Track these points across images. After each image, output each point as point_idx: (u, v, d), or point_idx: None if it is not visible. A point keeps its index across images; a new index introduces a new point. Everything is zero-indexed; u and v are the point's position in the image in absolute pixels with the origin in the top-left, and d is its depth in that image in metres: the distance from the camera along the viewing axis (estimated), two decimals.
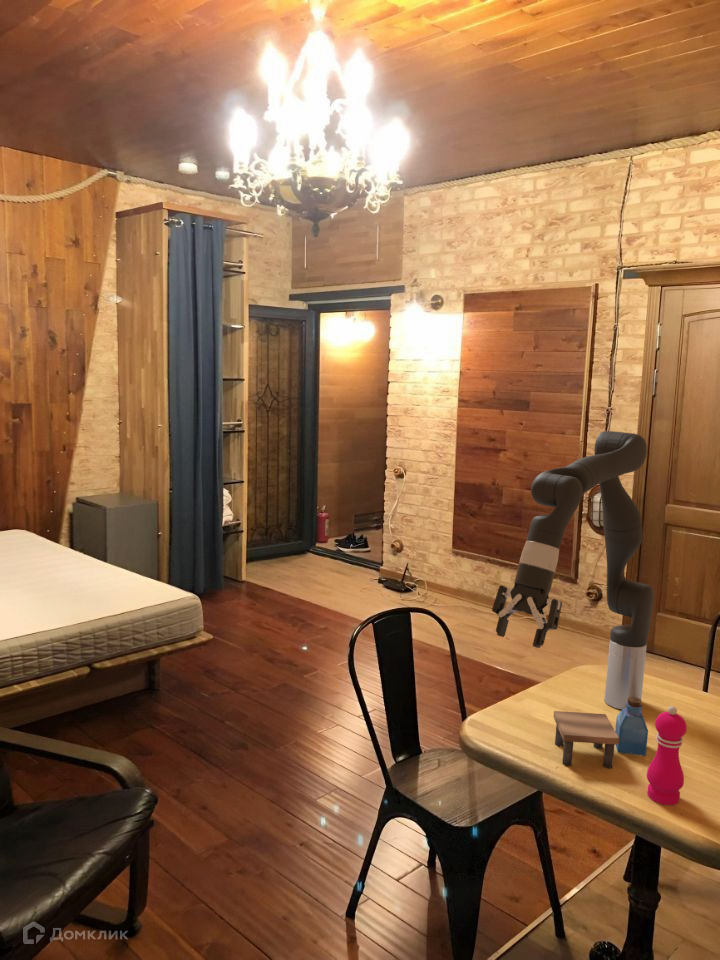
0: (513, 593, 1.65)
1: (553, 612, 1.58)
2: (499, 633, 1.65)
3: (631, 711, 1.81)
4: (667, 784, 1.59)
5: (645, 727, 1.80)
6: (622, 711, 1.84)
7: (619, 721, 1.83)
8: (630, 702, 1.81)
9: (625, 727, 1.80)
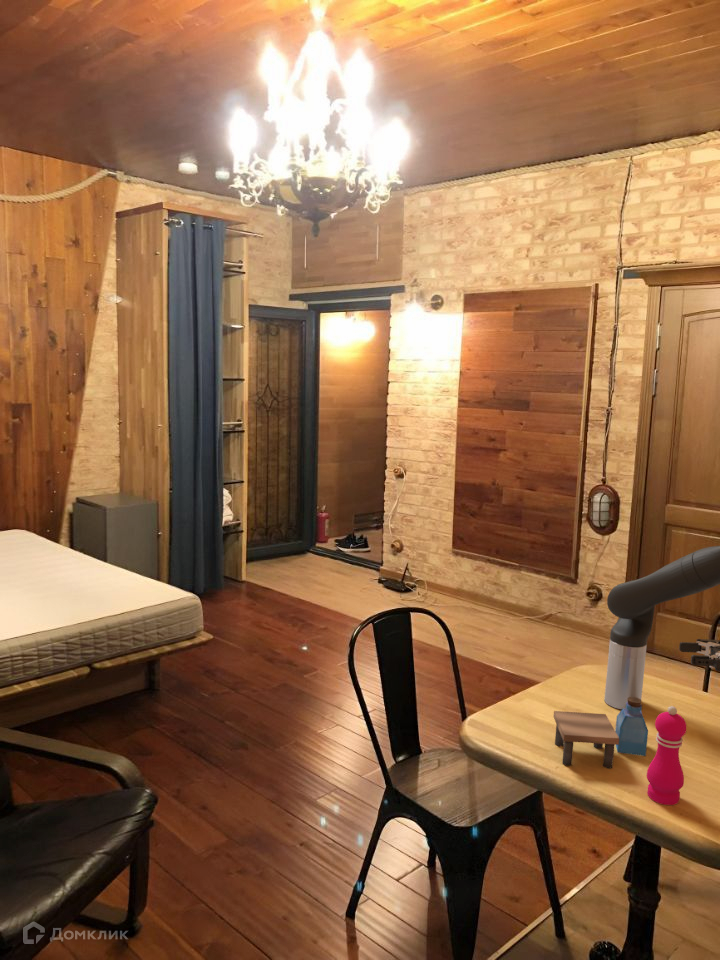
0: None
1: None
2: None
3: (631, 711, 1.81)
4: (667, 784, 1.59)
5: (645, 727, 1.80)
6: (622, 711, 1.84)
7: (619, 721, 1.83)
8: (630, 702, 1.81)
9: (625, 727, 1.80)
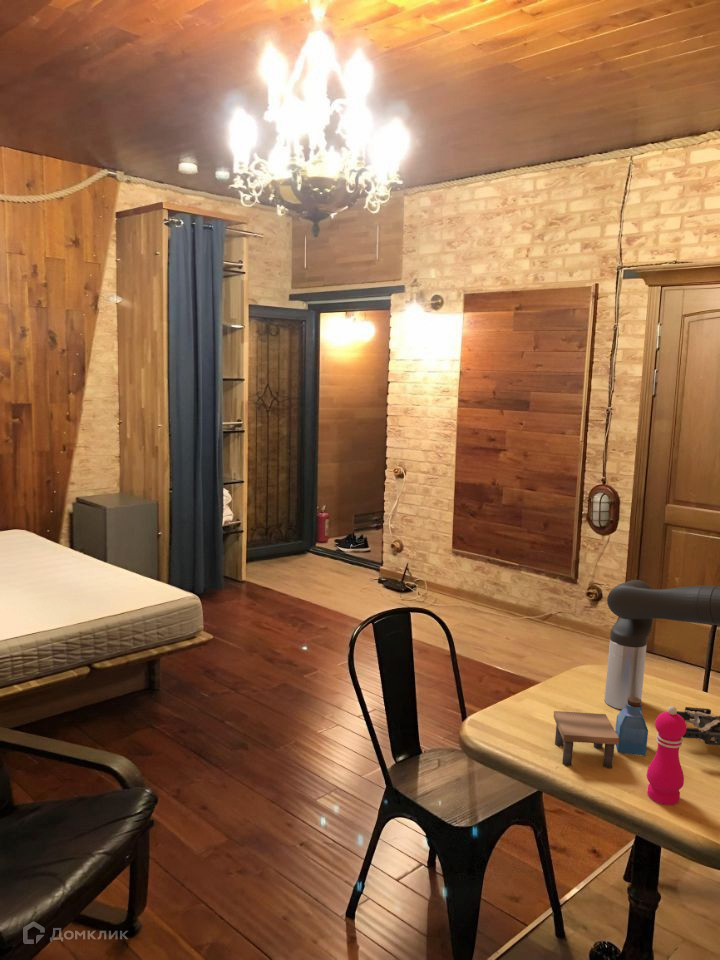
0: None
1: None
2: None
3: (631, 711, 1.81)
4: (667, 784, 1.59)
5: (645, 727, 1.80)
6: (622, 711, 1.84)
7: (619, 721, 1.83)
8: (630, 702, 1.81)
9: (625, 727, 1.80)
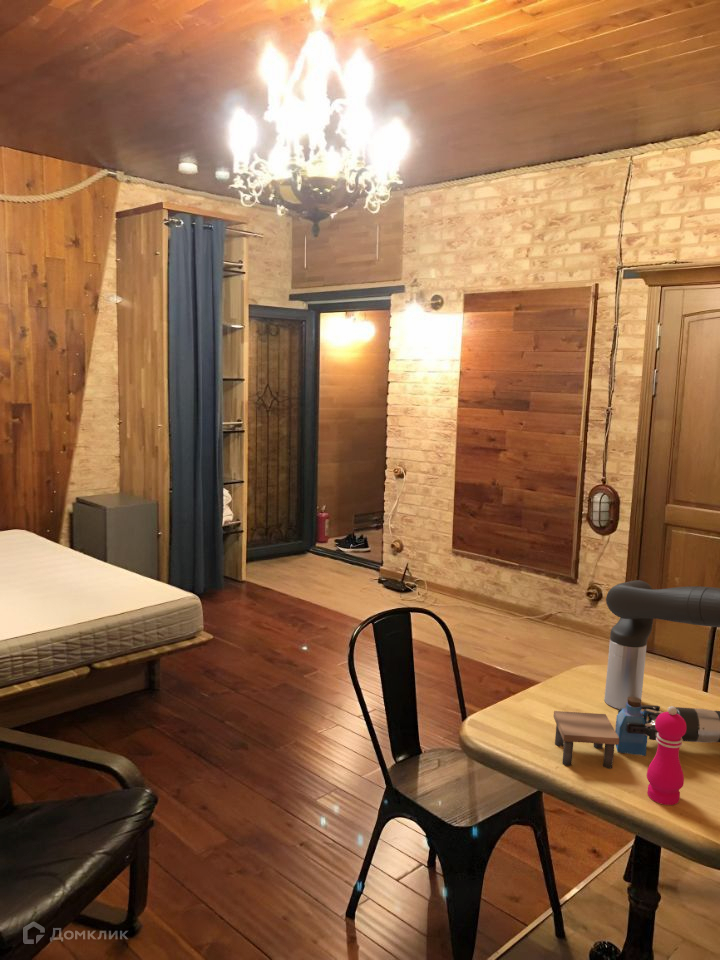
0: None
1: None
2: None
3: (631, 711, 1.81)
4: (667, 784, 1.59)
5: None
6: (622, 711, 1.84)
7: (619, 721, 1.83)
8: (630, 702, 1.81)
9: (625, 727, 1.80)
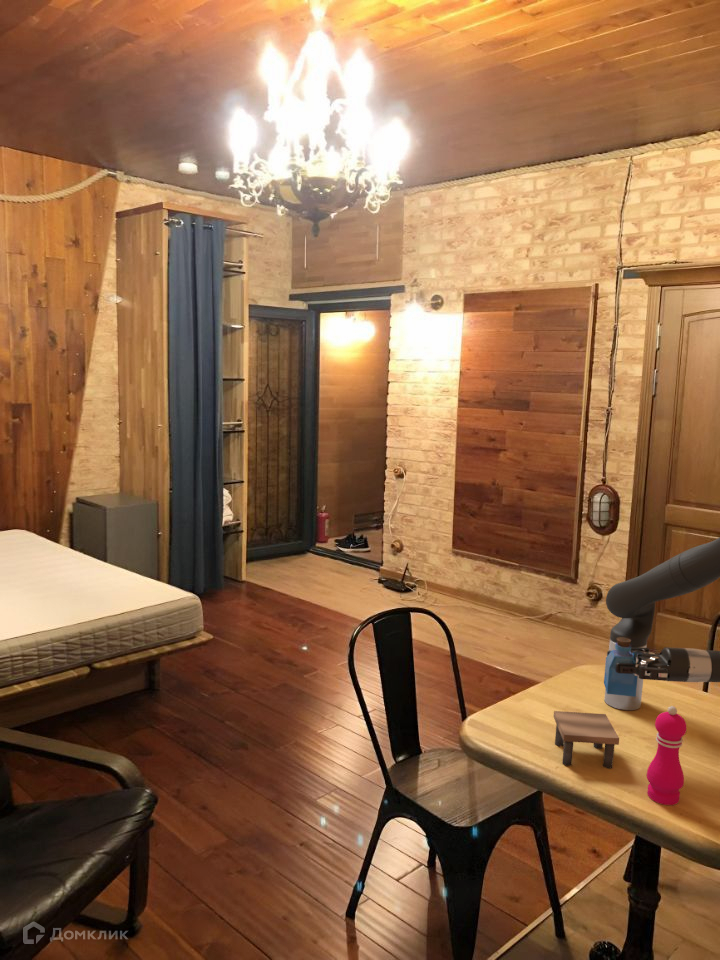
0: None
1: None
2: None
3: (620, 651, 1.77)
4: (667, 784, 1.59)
5: None
6: (611, 652, 1.80)
7: (608, 662, 1.79)
8: (619, 642, 1.77)
9: (615, 667, 1.76)
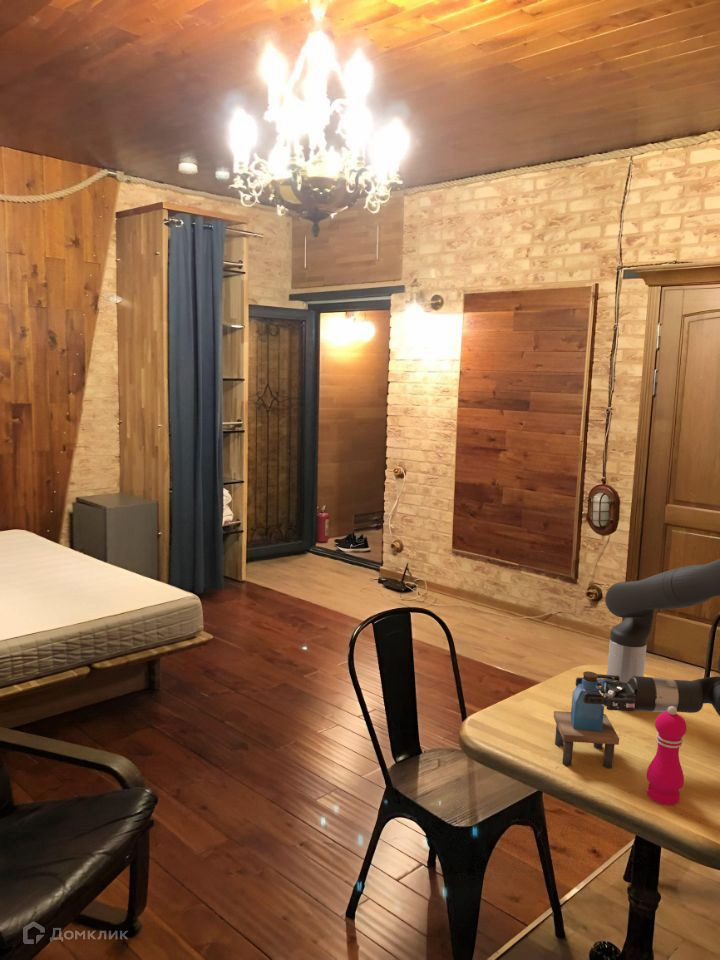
0: None
1: None
2: None
3: (587, 686, 1.76)
4: (667, 784, 1.59)
5: None
6: (578, 686, 1.79)
7: (575, 696, 1.77)
8: (586, 677, 1.76)
9: (581, 702, 1.75)
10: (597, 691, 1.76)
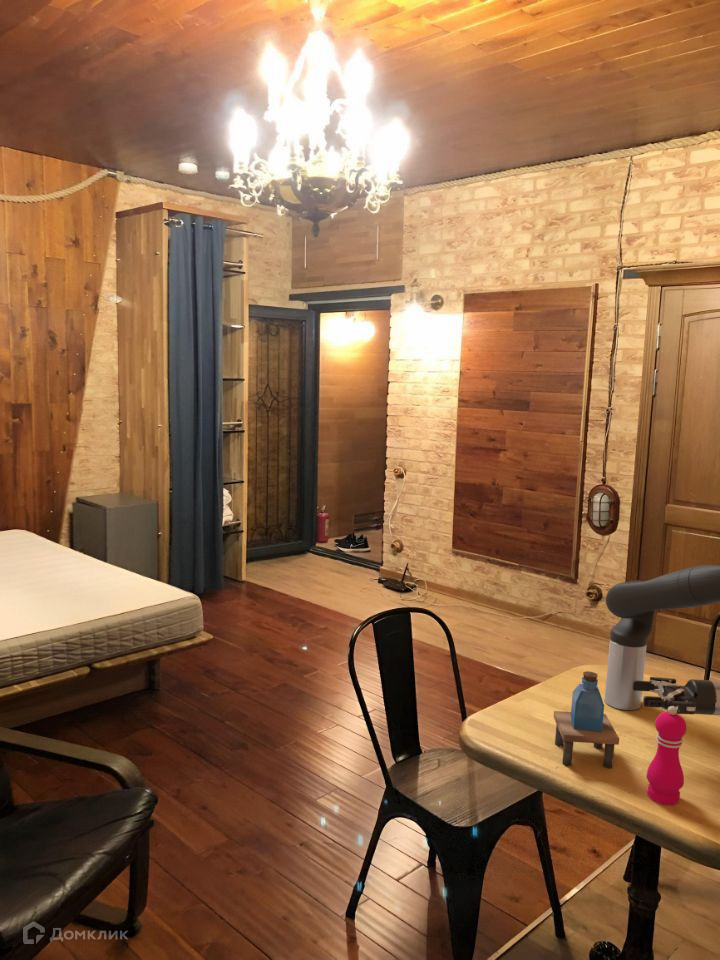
0: None
1: None
2: None
3: (587, 686, 1.76)
4: (667, 784, 1.59)
5: (601, 702, 1.74)
6: (578, 686, 1.79)
7: (575, 696, 1.77)
8: (586, 677, 1.76)
9: (581, 702, 1.75)
10: (597, 691, 1.76)
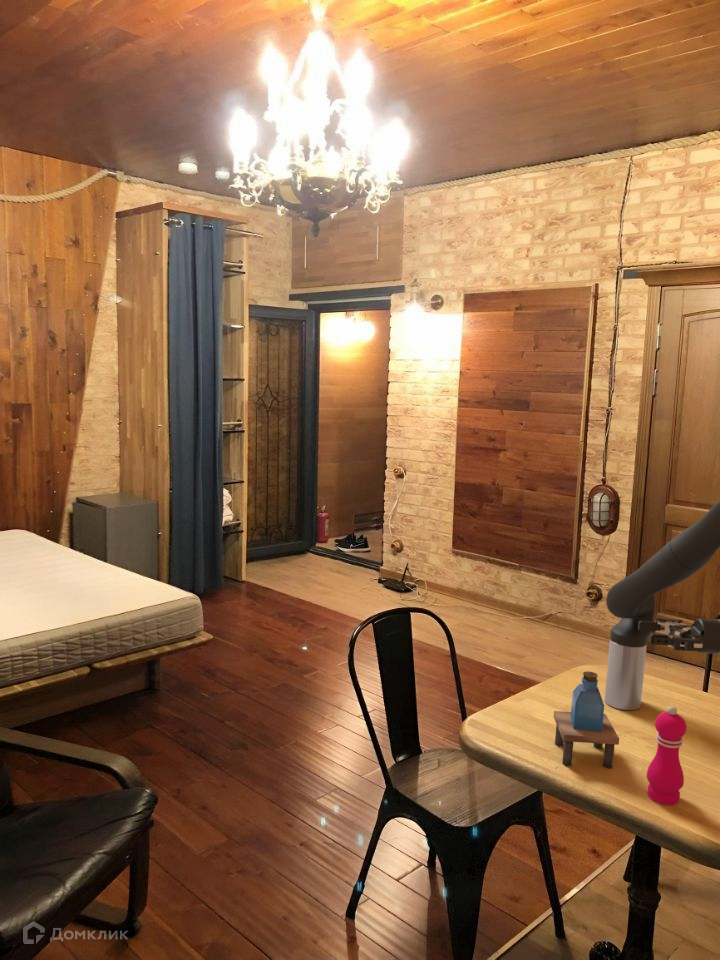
0: None
1: None
2: None
3: (587, 686, 1.76)
4: (667, 784, 1.59)
5: (601, 702, 1.74)
6: (578, 686, 1.79)
7: (575, 696, 1.77)
8: (586, 677, 1.76)
9: (581, 702, 1.75)
10: (597, 691, 1.76)
